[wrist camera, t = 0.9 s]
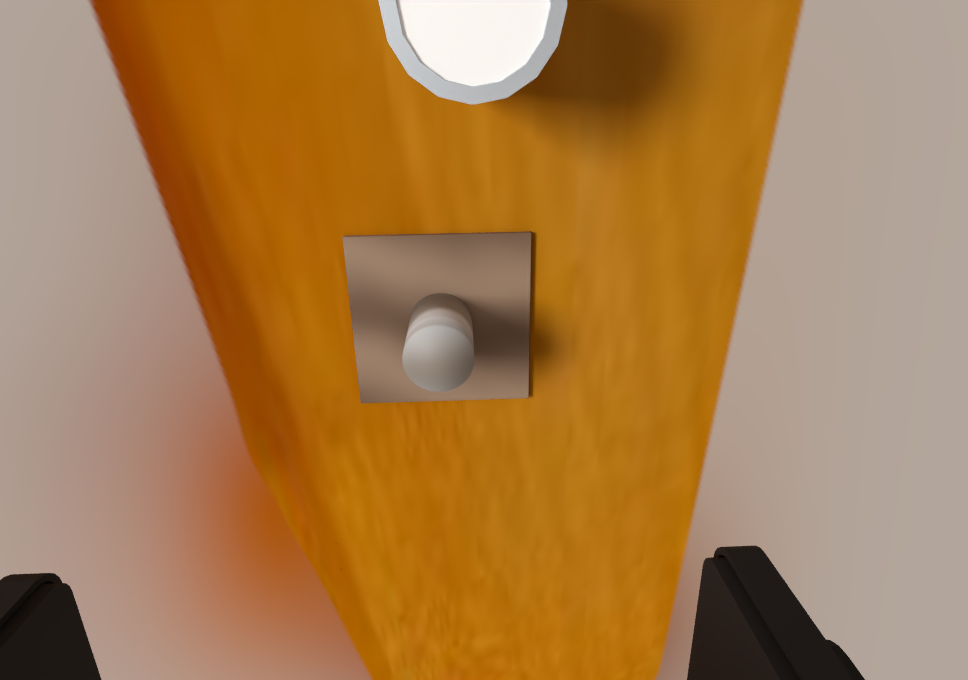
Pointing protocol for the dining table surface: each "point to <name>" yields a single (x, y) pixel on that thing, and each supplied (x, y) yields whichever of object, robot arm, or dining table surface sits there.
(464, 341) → the lid
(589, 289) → the dining table surface
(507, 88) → the white cup
